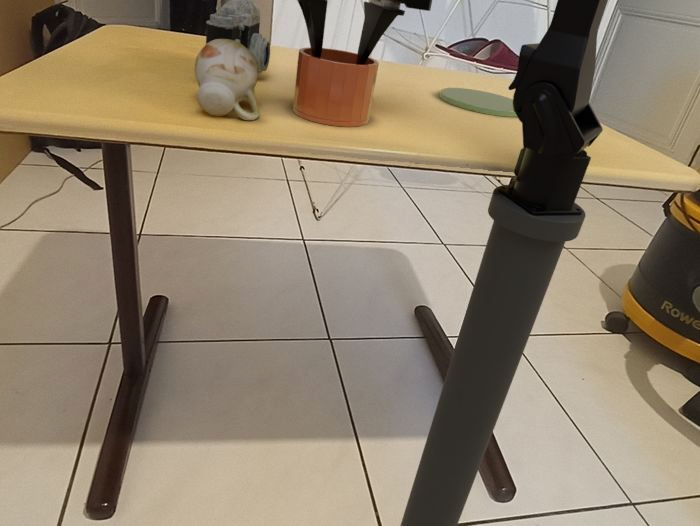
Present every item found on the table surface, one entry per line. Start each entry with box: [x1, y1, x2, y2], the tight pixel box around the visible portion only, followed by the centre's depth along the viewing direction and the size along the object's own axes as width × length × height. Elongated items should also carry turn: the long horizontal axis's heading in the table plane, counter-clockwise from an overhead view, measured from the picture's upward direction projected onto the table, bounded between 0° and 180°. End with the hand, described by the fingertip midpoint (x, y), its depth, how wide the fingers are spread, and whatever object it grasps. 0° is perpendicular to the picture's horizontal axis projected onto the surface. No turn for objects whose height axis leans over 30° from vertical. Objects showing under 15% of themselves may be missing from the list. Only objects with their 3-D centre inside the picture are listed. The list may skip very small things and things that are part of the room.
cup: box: [292, 46, 380, 128], centre depth 67 cm, size 9×9×7 cm
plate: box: [439, 87, 518, 118], centre depth 90 cm, size 14×14×1 cm
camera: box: [205, 0, 271, 74], centre depth 77 cm, size 15×7×10 cm, turn 175°
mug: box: [194, 39, 260, 121], centre depth 63 cm, size 8×10×10 cm
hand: (338, 64), depth 66 cm, fingers open, 5 cm apart
